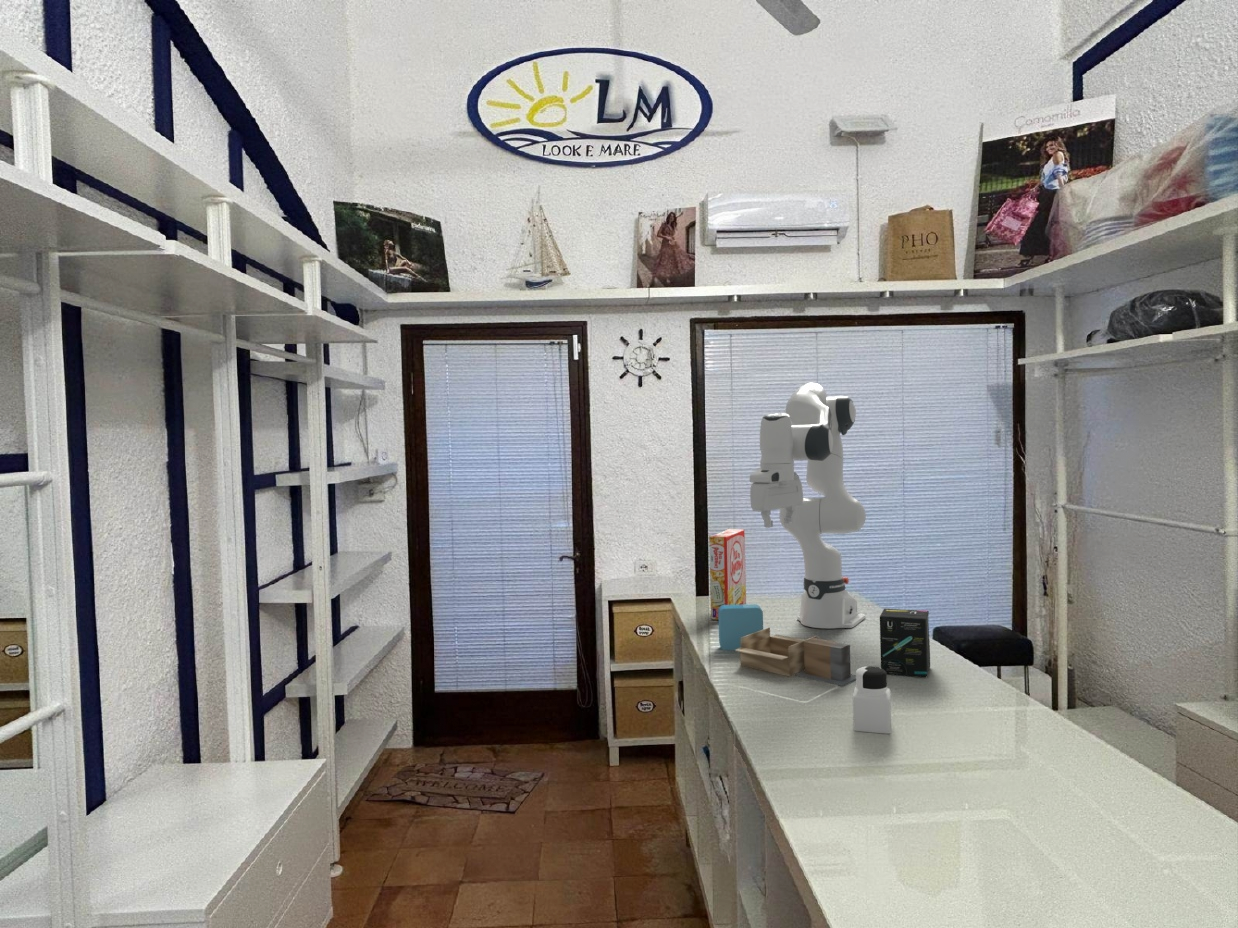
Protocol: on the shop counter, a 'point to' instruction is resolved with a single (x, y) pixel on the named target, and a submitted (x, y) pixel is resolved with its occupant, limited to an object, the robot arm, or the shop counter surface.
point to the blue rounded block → (738, 624)
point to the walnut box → (827, 659)
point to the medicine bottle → (871, 701)
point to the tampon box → (905, 642)
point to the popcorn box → (727, 569)
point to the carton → (772, 652)
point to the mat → (839, 683)
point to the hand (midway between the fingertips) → (778, 525)
